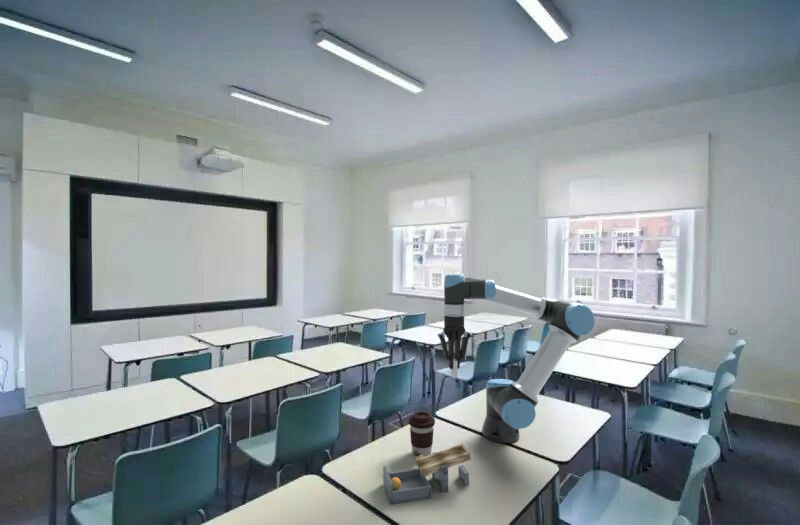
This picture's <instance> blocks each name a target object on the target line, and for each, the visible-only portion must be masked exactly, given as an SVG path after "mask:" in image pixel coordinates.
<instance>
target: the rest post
mask: <svg viewBox="0 0 800 525" xmlns="http://www.w3.org/2000/svg"><path fill="white" fill-rule="evenodd" d="M457 468H458V479H459V480H460V481H461V483H462V484H463V486H469V485H470V472H469V471H468V470H467V468H466V467H465V466H464V465H463V464H461V465H460V464H459V465H458V467H457Z"/></svg>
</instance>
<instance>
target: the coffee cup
mask: <svg viewBox="0 0 800 525" xmlns="http://www.w3.org/2000/svg"><path fill="white" fill-rule="evenodd" d="M408 424H409V427H410V428H409V431H410V435H409V436H410V444H411V454H412V456H413V457H415V456H414V454H413V452H414V451H415V450H421V454H422V455H423V457H425V456H428V455H431V454H432V450H433V449H432V447H433V443H434V426H435V424H436V419H435V417H433V415H432V414H430V413H429V412H426V411H416V412H414V413H413V414H412V415H411V416H410V417H409V418H408Z"/></svg>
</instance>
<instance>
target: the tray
mask: <svg viewBox="0 0 800 525" xmlns="http://www.w3.org/2000/svg"><path fill="white" fill-rule="evenodd" d="M382 469H383V470H382V472H383V476H382V477H383V479H382V480H383V483H382V484H383V487H384V490H385V493H386V496H387V498H388V501H389V504H390V505H396V504H400V503H401V504H403V503H409V502H414V501H421V500H426V499H432V485H431V484H429V482H428V480H427V478H426V476H425V477H423V476H422V474H421V472H420V470H419V468H418V467H417V468H413V469H412V468H411V469H405V470H398V471H397V470H396V471H390V472H389V471H388V468H387V465H383V467H382ZM394 477H397V478H399V479H400V481H401V486H400V488H399V489H397V490H394V489H393V483H392V480H391V479H392V478H394Z"/></svg>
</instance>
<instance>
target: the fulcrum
mask: <svg viewBox="0 0 800 525" xmlns="http://www.w3.org/2000/svg"><path fill="white" fill-rule="evenodd" d="M437 452H438V451H436V452H431V454H434V453H437ZM431 475H432V476H431V478H432V479H433V481H434V482H435V483H436V485H437V488H438V489H439V491H440V493H441V494H444V493H449V468H448V465H440V471H438V472H436V473H433V474H431Z"/></svg>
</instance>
